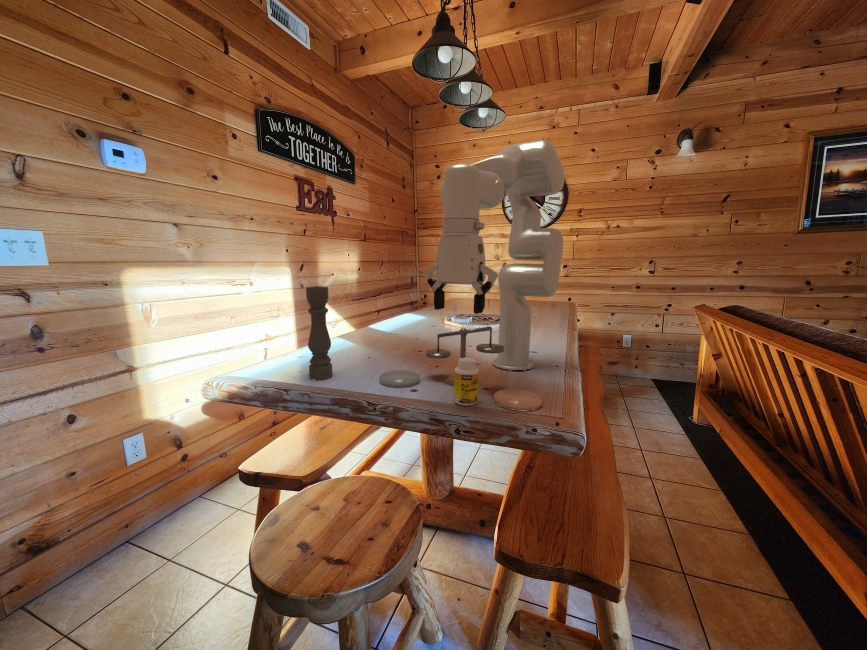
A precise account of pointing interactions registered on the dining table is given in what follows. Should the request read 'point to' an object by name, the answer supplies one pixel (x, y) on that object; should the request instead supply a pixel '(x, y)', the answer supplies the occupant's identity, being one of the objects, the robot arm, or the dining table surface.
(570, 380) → the dining table surface
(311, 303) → the candle holder
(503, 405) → the terracotta dish
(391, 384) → the slate dish
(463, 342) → the balance
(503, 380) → the dining table surface
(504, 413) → the dining table surface
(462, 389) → the supplement bottle
